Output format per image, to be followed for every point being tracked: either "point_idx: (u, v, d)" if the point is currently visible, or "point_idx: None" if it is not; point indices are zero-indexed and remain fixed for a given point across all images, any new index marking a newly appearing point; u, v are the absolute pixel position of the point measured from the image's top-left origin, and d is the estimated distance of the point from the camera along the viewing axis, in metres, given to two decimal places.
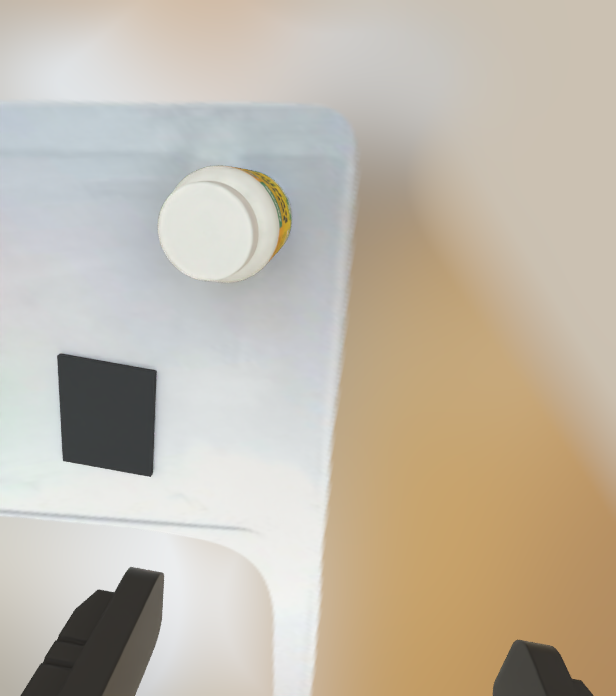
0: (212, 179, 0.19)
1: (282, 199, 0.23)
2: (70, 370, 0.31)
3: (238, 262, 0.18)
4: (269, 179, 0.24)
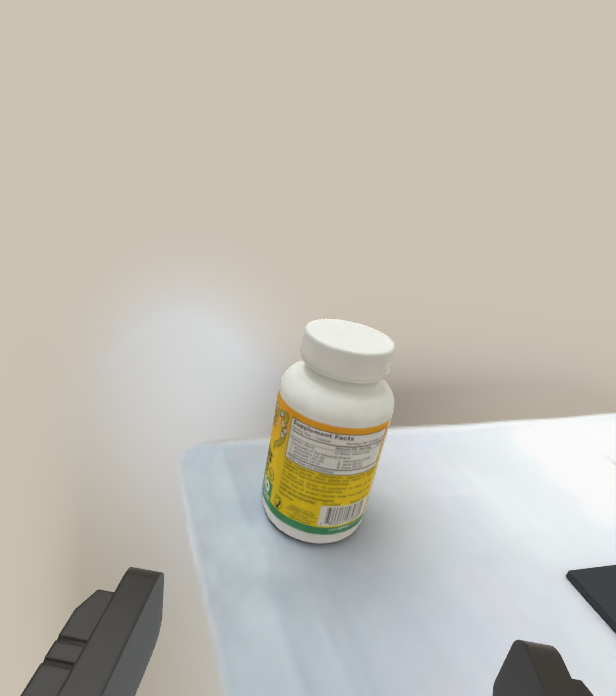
0: (300, 378, 0.19)
1: None
2: None
3: (357, 324, 0.20)
4: None
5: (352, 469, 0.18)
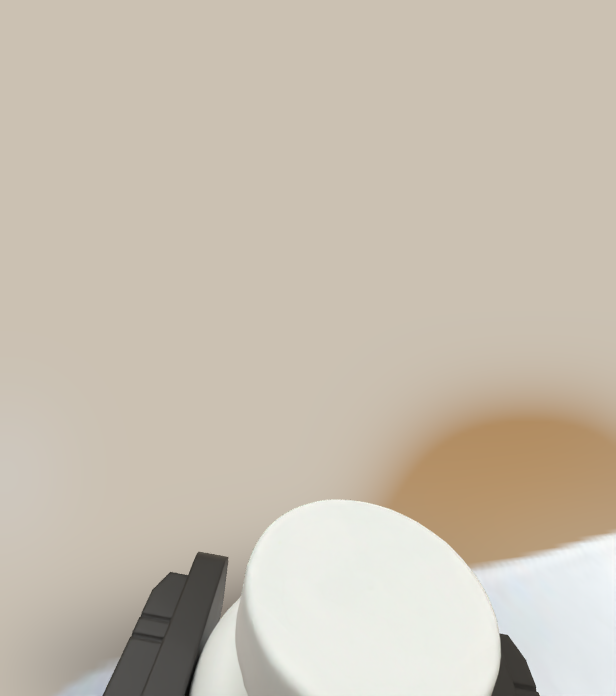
0: None
1: None
2: None
3: (384, 512, 0.08)
4: None
5: None
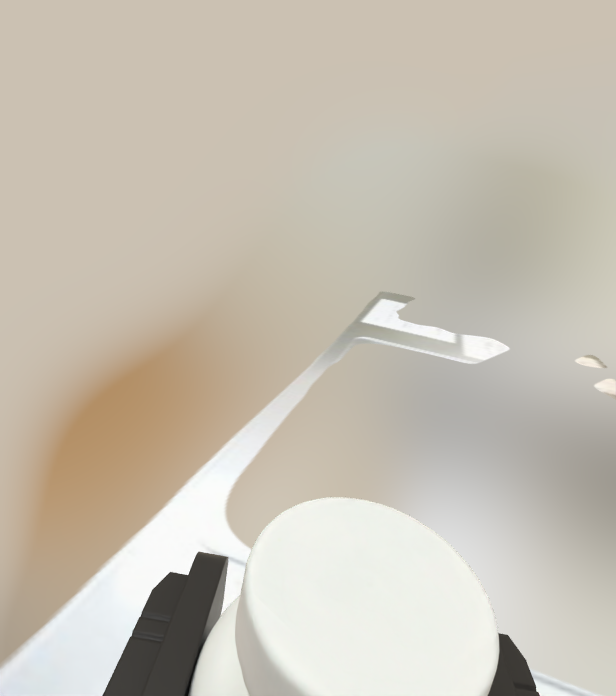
0: None
1: None
2: None
3: (383, 510, 0.08)
4: None
5: None
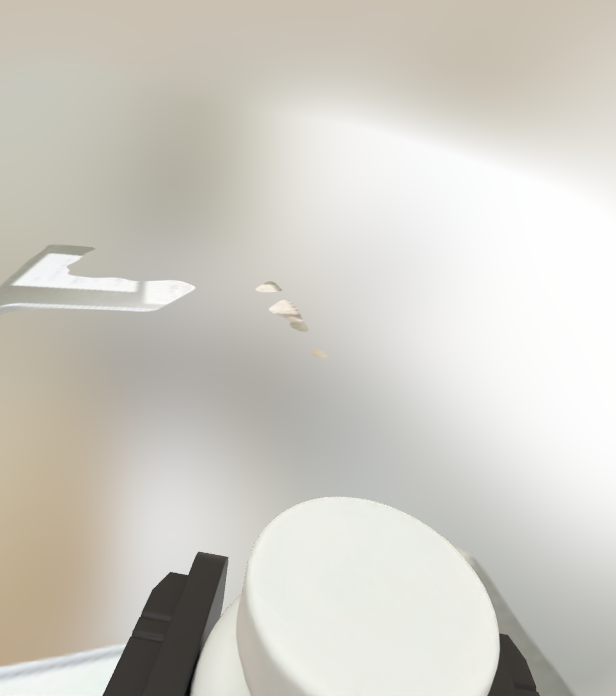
0: None
1: None
2: None
3: (384, 509, 0.08)
4: None
5: None
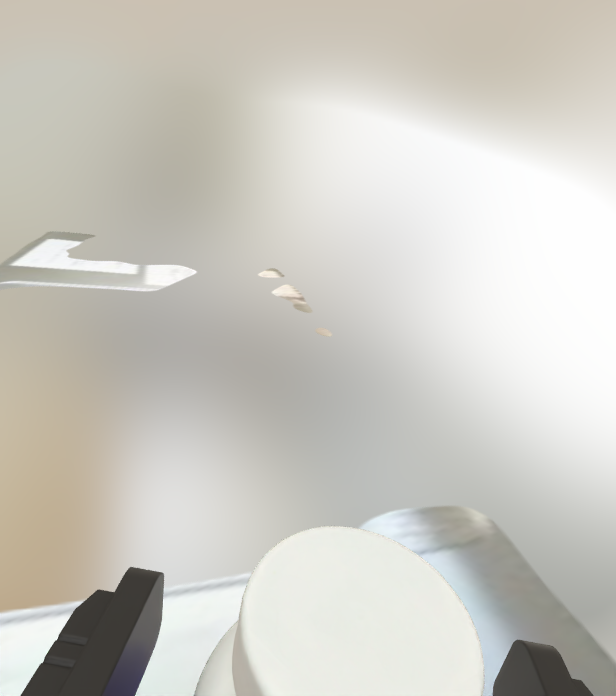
0: None
1: None
2: None
3: (376, 538, 0.09)
4: None
5: None
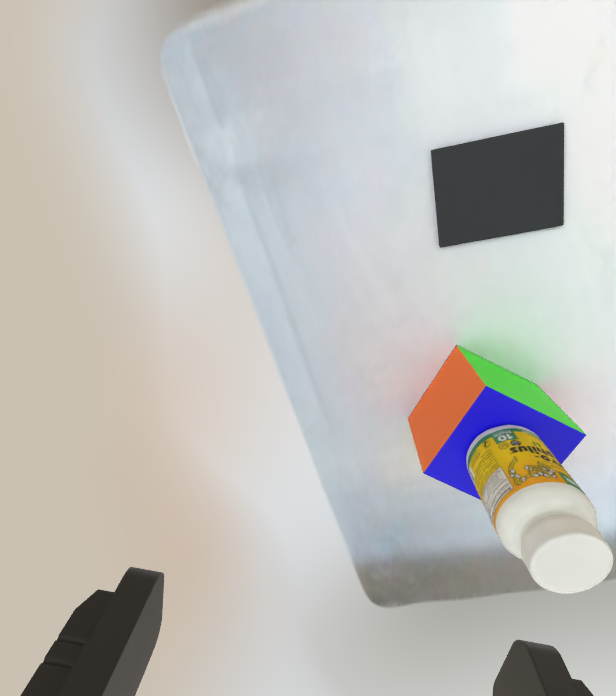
0: (541, 506, 0.23)
1: (552, 455, 0.27)
2: (452, 232, 0.33)
3: (604, 574, 0.22)
4: (530, 440, 0.28)
5: (485, 508, 0.27)
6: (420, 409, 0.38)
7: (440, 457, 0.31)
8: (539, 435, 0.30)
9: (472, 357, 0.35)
